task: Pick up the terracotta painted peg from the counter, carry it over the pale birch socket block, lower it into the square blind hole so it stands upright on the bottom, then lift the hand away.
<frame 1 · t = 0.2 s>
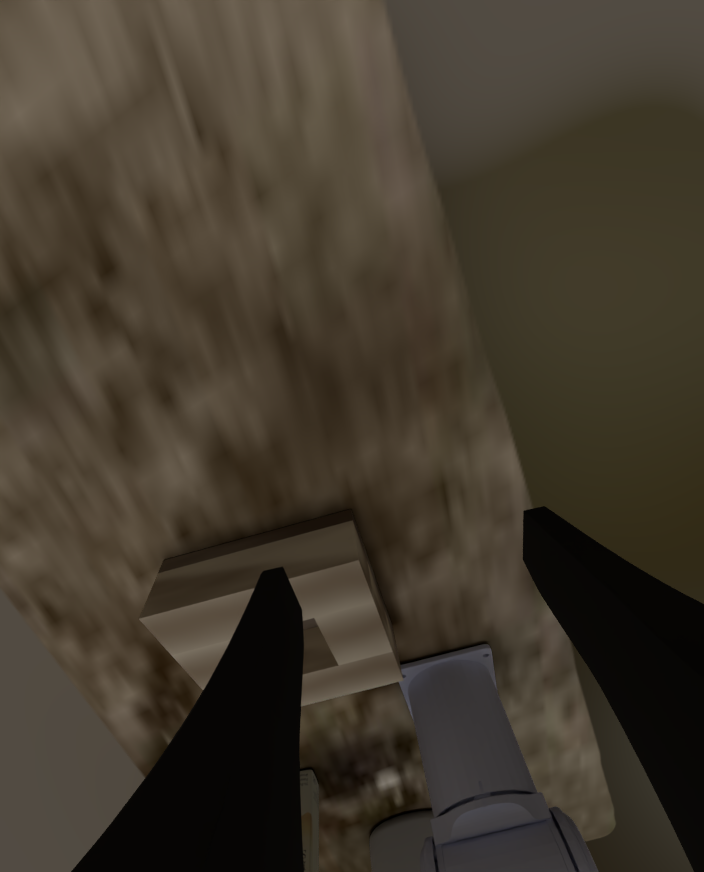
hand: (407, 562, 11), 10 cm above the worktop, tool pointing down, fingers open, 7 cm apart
socket block: (289, 596, 26), on the worktop
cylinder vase: (415, 825, 51), on the worktop
skincare box: (285, 778, 41), on the worktop
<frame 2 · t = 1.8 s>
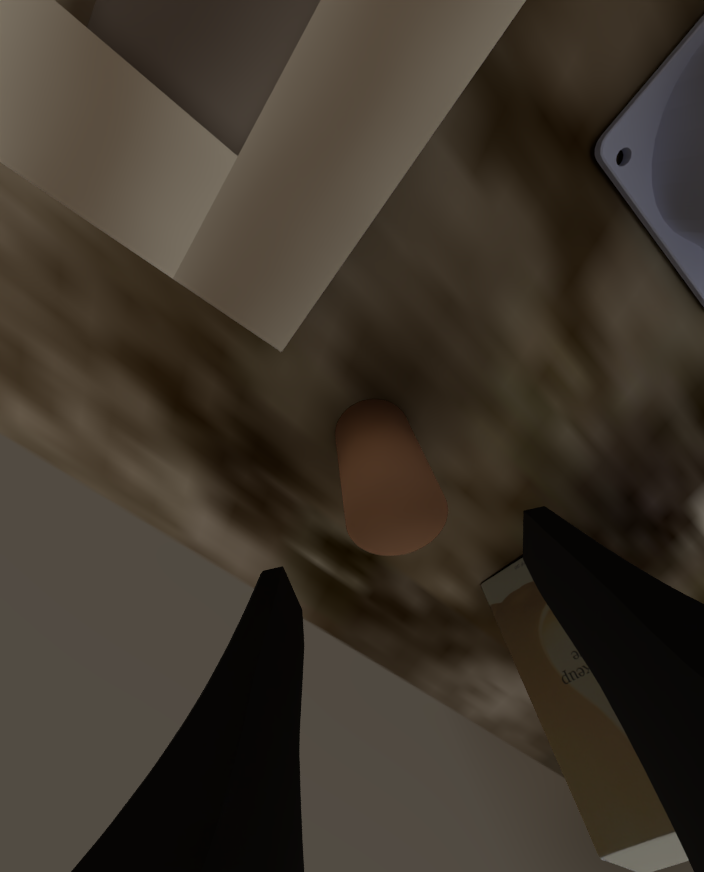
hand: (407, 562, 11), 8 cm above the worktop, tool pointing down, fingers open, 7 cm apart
peg: (372, 432, 18), on the worktop
socket block: (226, 25, 11), on the worktop
skincare box: (532, 571, 25), on the worktop
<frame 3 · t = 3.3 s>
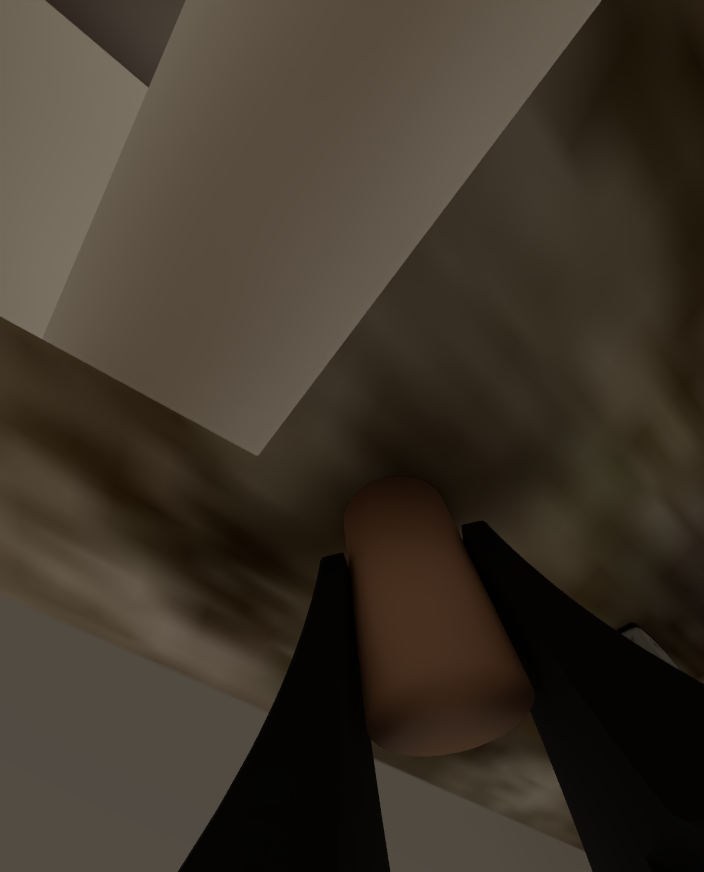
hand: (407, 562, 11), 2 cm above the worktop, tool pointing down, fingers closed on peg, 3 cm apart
peg: (394, 518, 13), on the worktop, touching gripper
skincare box: (589, 665, 19), on the worktop
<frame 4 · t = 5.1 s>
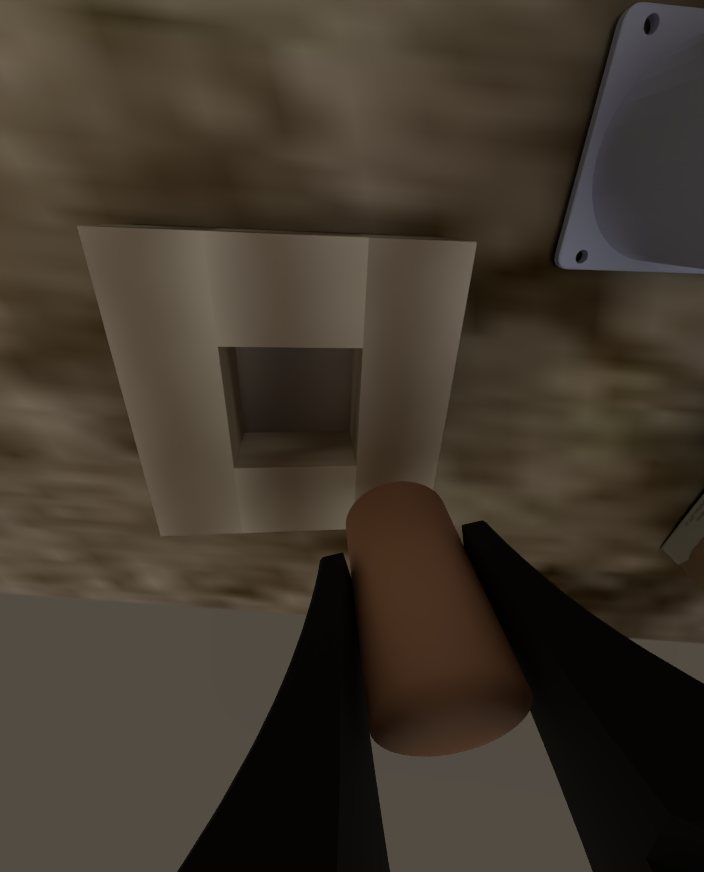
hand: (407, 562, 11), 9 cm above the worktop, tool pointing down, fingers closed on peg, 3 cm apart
peg: (396, 522, 13), point 7 cm above the worktop, touching gripper
socket block: (297, 375, 18), on the worktop
when the fingers open (5 cm above the worktop, at t = 7.2 s): peg drops 2 cm, resting on socket block.
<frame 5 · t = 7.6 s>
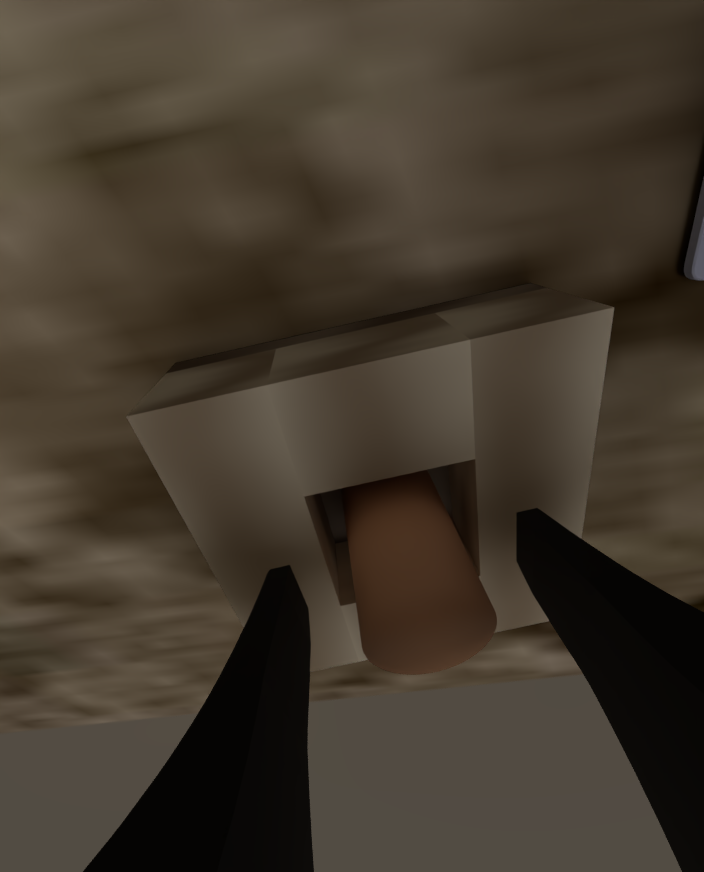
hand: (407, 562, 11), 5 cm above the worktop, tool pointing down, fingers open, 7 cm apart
peg: (386, 490, 15), point 1 cm above the worktop, touching socket block
socket block: (380, 469, 16), on the worktop
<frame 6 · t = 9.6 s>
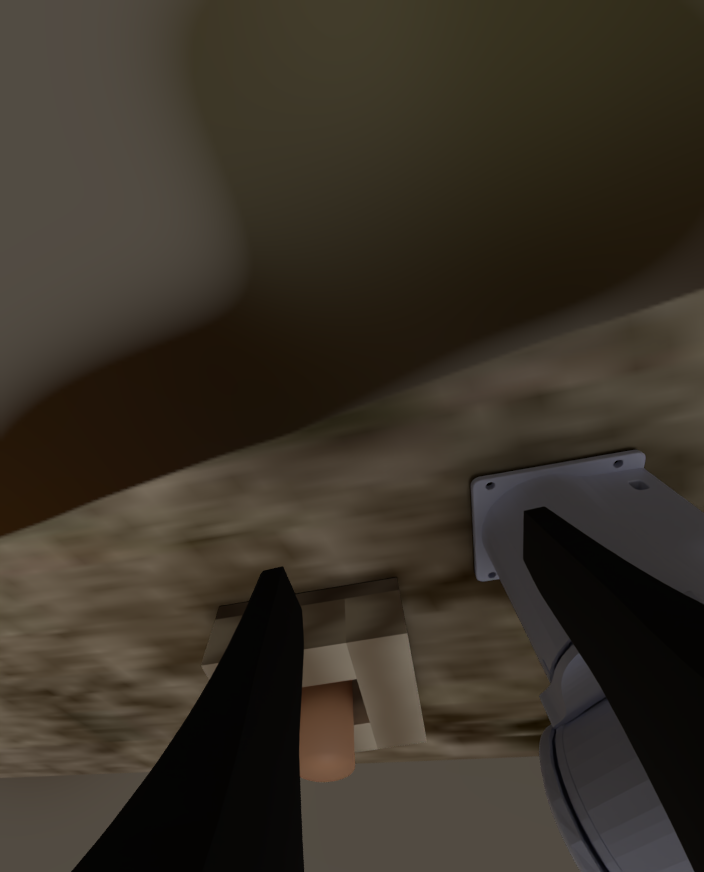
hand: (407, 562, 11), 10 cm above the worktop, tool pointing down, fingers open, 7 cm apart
peg: (327, 664, 27), point 1 cm above the worktop, touching socket block
socket block: (326, 648, 28), on the worktop
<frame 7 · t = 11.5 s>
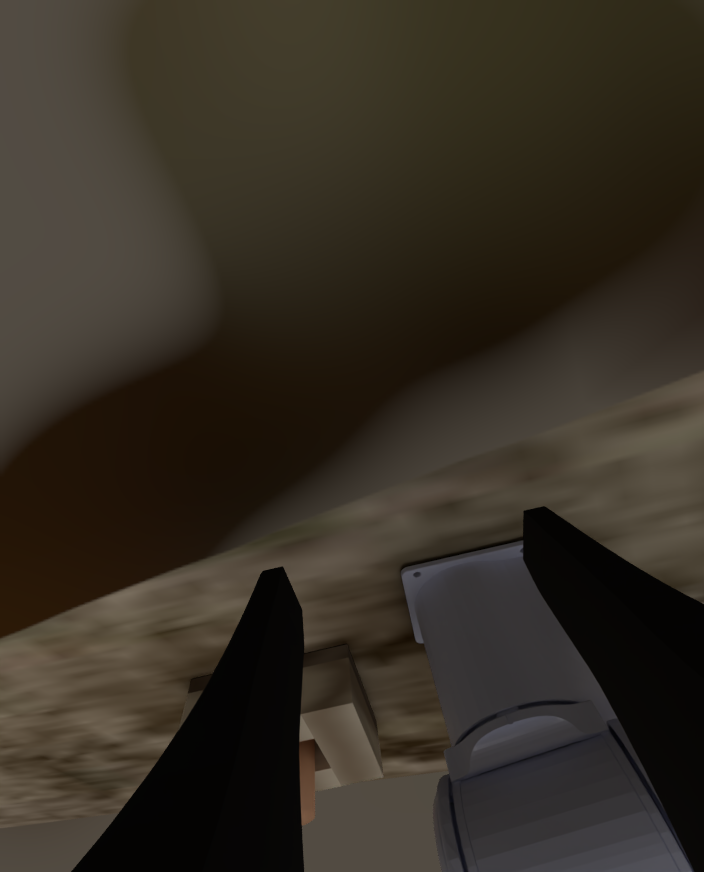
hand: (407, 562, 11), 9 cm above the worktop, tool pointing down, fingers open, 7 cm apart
peg: (292, 717, 31), point 1 cm above the worktop, touching socket block
socket block: (292, 702, 32), on the worktop
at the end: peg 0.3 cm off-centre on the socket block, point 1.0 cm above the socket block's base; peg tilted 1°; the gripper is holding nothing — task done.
